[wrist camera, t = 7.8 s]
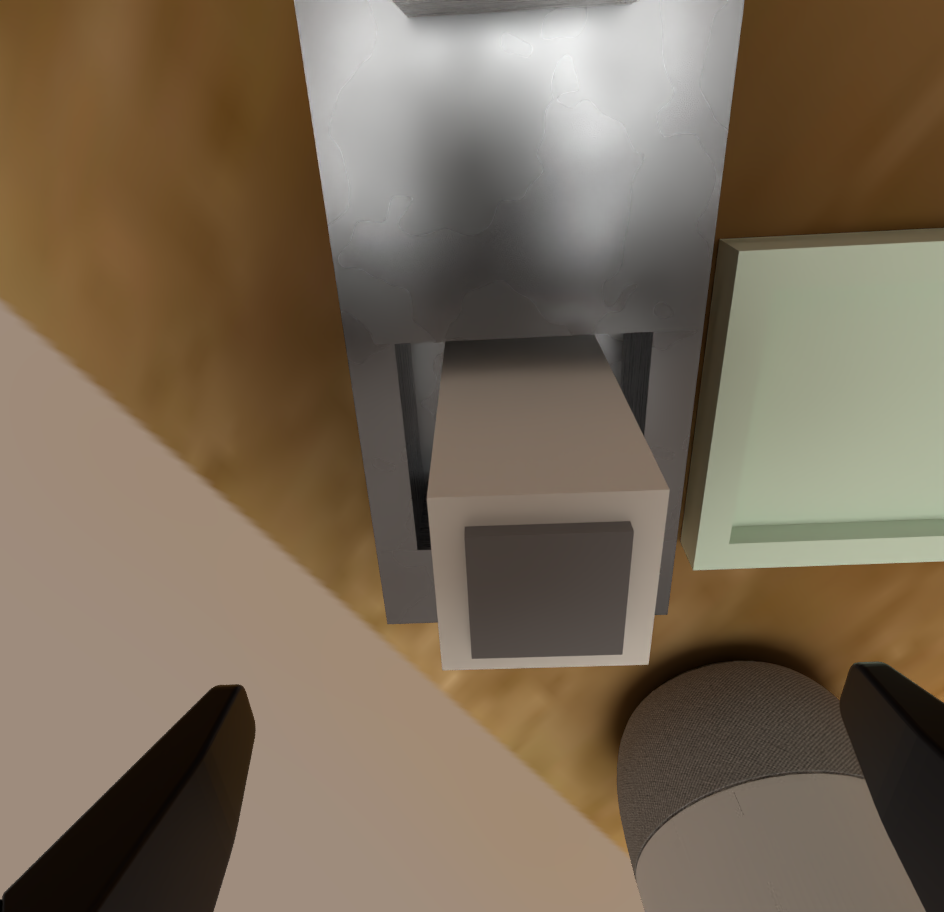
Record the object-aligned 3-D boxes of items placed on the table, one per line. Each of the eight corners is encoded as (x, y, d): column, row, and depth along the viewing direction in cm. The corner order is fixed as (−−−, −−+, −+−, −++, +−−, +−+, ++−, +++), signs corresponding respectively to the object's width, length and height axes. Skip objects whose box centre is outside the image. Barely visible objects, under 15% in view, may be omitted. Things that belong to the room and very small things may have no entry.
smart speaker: (716, 595, 24) (975, 1139, 11) (888, 693, 26) (1255, 1229, 14) (558, 741, 28) (624, 1263, 15) (720, 814, 30) (890, 1316, 18)
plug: (593, 332, 18) (674, 499, 11) (587, 460, 20) (652, 676, 12) (445, 338, 18) (425, 507, 11) (454, 465, 20) (441, 682, 13)
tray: (1104, 219, 17) (1155, 230, 16) (979, 530, 22) (1011, 558, 21) (719, 238, 18) (739, 251, 16) (680, 541, 22) (693, 570, 21)
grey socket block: (295, -298, 13) (114, -686, 6) (713, -329, 12) (961, -762, 6) (401, 540, 22) (372, 720, 16) (636, 531, 22) (702, 710, 16)
